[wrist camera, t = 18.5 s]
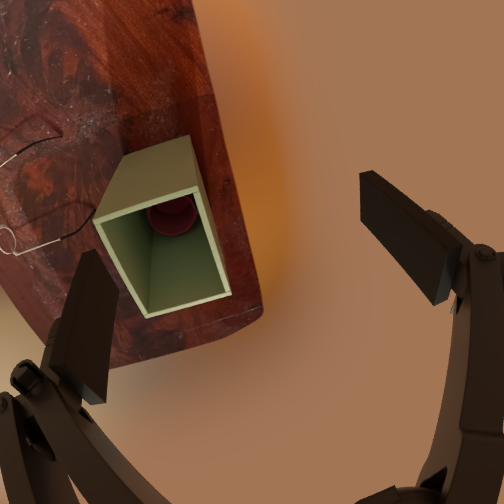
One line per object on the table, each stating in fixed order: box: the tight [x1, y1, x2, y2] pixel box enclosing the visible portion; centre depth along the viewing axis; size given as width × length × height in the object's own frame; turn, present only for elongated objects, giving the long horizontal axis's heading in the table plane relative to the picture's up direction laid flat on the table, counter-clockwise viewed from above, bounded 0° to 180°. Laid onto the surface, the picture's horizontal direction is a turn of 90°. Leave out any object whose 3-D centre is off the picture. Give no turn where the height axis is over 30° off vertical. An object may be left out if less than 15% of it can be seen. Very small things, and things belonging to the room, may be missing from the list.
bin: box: [93, 135, 232, 318], centre depth 38 cm, size 13×10×20 cm
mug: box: [147, 193, 197, 236], centre depth 43 cm, size 7×10×7 cm
